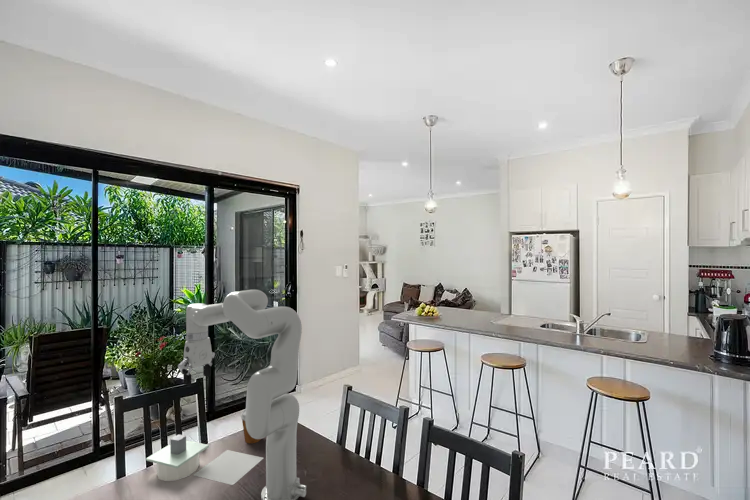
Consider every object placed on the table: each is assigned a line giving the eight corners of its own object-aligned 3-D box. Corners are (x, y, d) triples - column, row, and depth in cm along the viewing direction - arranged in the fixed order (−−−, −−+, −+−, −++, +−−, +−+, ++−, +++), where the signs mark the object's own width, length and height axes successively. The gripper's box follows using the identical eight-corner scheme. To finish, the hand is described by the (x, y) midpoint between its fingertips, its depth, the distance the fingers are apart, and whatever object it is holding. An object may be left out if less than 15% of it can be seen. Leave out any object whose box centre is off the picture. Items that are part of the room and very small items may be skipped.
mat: (263, 458, 140) (263, 457, 140) (232, 486, 124) (232, 485, 124) (227, 450, 145) (227, 449, 145) (192, 476, 129) (192, 475, 129)
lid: (208, 447, 137) (208, 431, 137) (177, 468, 124) (176, 451, 124) (179, 440, 142) (179, 425, 142) (146, 460, 128) (145, 443, 128)
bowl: (206, 463, 137) (206, 447, 137) (177, 485, 124) (177, 467, 124) (179, 457, 141) (179, 441, 141) (148, 477, 129) (148, 460, 129)
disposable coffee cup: (235, 444, 150) (235, 414, 150) (250, 433, 159) (250, 405, 159) (255, 448, 147) (255, 418, 147) (269, 436, 156) (269, 408, 156)
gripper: (186, 342, 134) (187, 389, 134) (221, 331, 150) (221, 374, 150) (170, 340, 136) (171, 387, 137) (206, 330, 153) (206, 372, 153)
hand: (197, 380), depth 144 cm, fingers open, 9 cm apart
